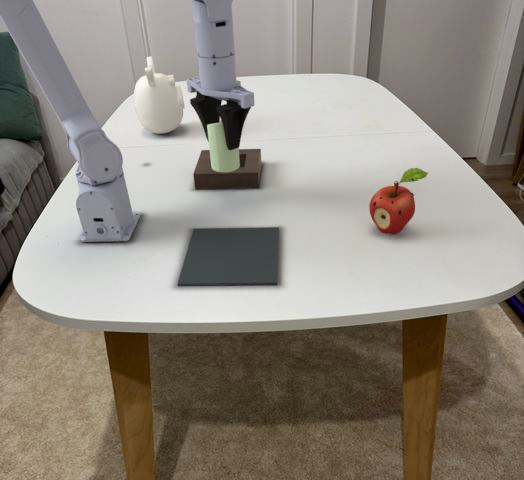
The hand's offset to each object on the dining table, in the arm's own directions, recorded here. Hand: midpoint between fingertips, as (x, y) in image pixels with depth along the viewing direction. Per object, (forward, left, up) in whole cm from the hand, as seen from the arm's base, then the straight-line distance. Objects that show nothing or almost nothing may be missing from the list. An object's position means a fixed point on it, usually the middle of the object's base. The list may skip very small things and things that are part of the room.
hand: (223, 144), depth 87 cm
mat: (-21, -2, -9) cm, 23 cm away
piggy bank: (+36, +19, -10) cm, 42 cm away
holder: (+9, +1, -9) cm, 13 cm away
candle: (0, 0, -4) cm, 4 cm away
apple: (-14, -27, -10) cm, 32 cm away
